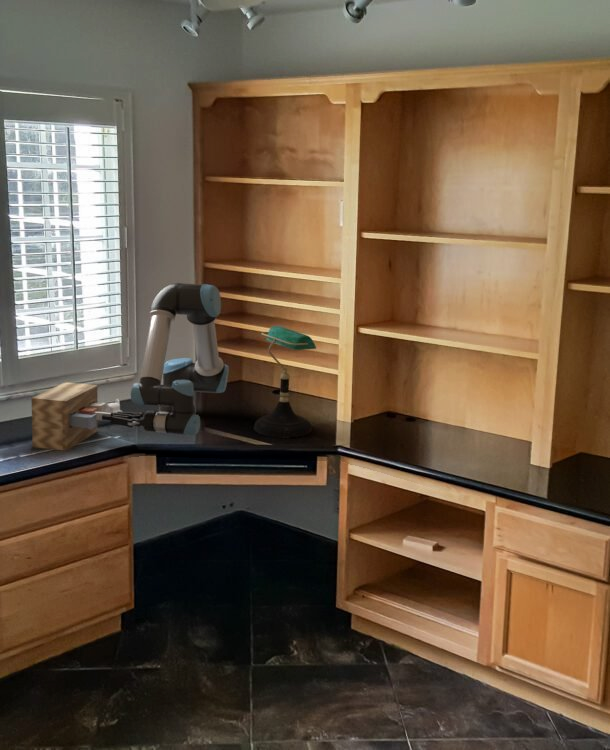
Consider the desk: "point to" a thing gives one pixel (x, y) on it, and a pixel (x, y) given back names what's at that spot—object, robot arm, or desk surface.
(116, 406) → the elephant figurine
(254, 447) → the desk surface
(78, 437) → the wooden box
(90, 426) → the slate key
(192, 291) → the robot arm
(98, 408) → the white key
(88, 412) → the brick key
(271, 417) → the banker's lamp
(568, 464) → the desk surface
